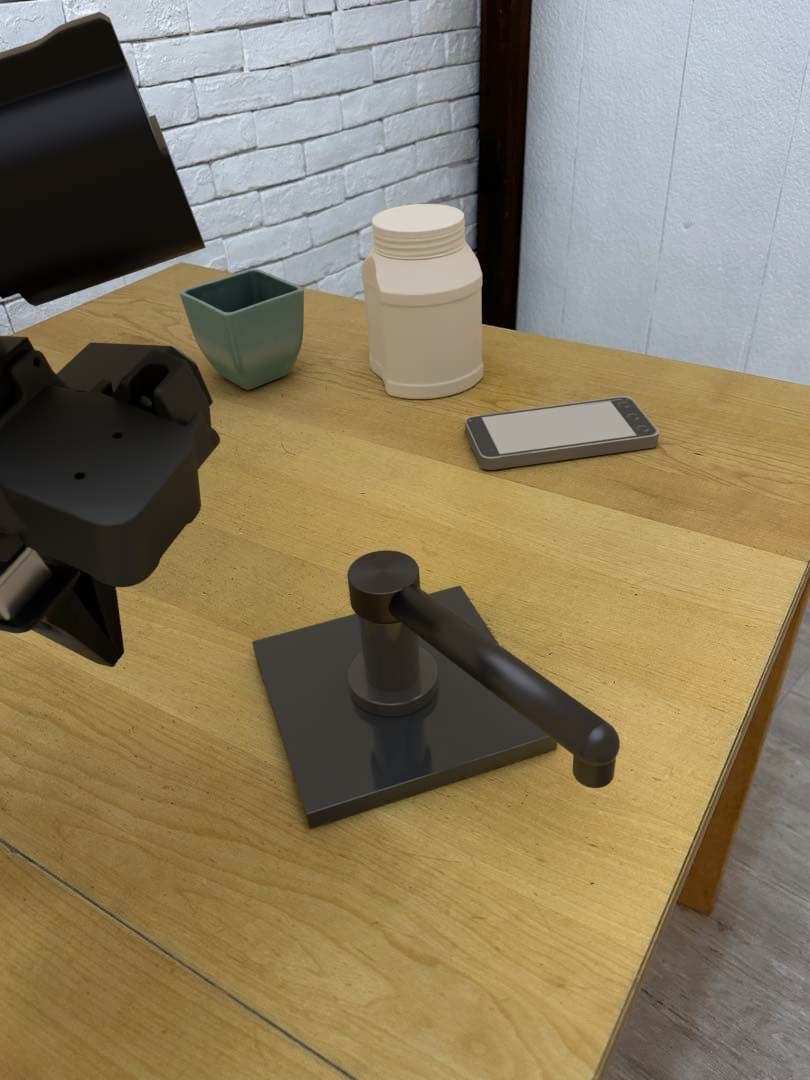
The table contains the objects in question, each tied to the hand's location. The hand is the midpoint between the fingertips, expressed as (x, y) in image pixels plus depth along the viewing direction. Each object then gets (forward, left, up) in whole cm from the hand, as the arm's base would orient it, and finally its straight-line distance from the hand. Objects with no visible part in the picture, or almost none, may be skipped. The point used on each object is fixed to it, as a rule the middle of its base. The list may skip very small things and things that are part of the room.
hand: (110, 659), depth 39 cm
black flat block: (+14, -5, -13) cm, 19 cm away
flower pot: (+44, +32, -13) cm, 56 cm away
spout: (+12, -11, -6) cm, 17 cm away
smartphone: (+46, 0, -13) cm, 48 cm away
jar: (+52, +17, -13) cm, 56 cm away
